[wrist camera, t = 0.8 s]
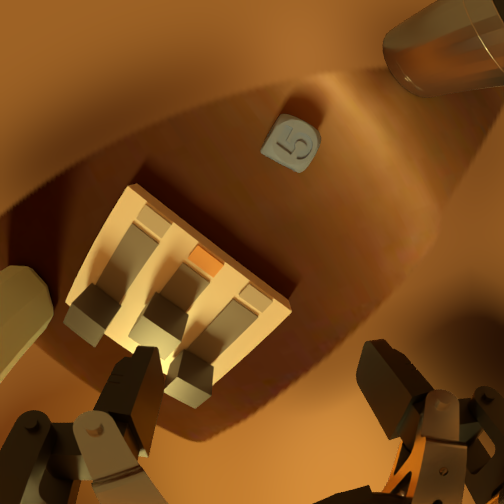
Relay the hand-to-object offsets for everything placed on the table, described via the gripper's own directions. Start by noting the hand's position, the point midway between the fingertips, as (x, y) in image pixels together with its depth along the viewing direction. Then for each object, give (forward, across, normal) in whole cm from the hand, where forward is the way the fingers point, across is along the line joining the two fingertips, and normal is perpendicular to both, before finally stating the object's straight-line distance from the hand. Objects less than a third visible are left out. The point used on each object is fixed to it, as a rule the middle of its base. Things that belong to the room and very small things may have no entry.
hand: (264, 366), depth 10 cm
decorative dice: (+18, -4, -10) cm, 21 cm away
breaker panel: (+19, +8, +6) cm, 22 cm away
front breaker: (+16, +15, +6) cm, 23 cm away
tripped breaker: (+16, +8, +6) cm, 19 cm away
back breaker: (+17, +6, +13) cm, 22 cm away
